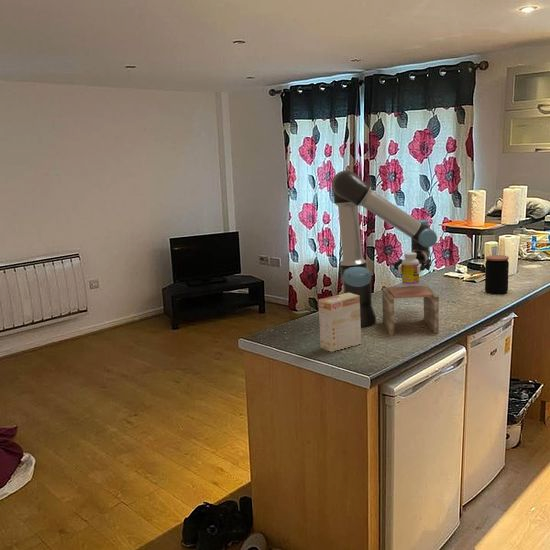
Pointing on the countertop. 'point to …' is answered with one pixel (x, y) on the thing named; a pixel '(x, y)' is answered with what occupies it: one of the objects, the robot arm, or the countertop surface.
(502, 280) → the coffee jar
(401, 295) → the trapdoor
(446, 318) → the countertop surface
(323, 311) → the coffeecake box
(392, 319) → the stand
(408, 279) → the supplement bottle
